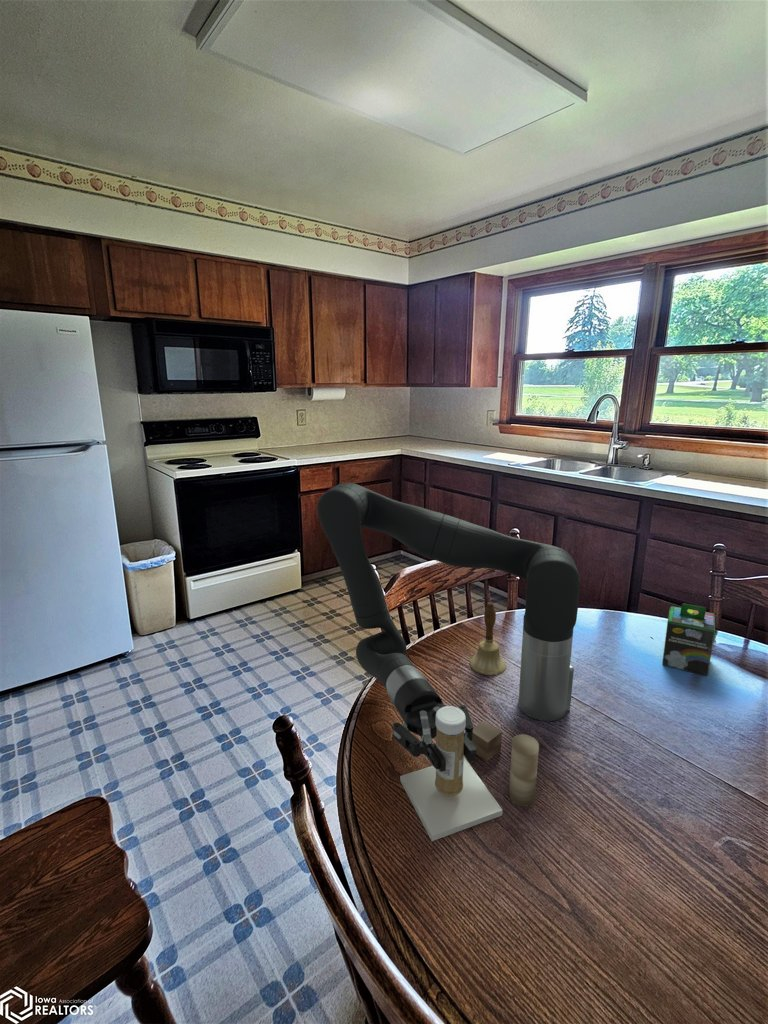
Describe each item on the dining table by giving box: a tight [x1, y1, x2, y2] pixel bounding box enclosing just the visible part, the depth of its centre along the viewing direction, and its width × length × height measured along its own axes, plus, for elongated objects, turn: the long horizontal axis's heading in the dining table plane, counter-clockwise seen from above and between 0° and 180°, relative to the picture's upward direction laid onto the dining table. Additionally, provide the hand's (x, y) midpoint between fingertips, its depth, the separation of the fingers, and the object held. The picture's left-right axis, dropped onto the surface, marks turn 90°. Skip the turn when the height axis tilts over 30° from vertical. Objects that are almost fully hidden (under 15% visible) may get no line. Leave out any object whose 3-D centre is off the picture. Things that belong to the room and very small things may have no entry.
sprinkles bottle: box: [435, 705, 466, 796], centre depth 77 cm, size 5×5×13 cm
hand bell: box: [469, 601, 507, 676], centre depth 113 cm, size 8×8×16 cm
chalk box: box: [662, 603, 716, 677], centre depth 113 cm, size 9×9×15 cm
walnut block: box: [471, 720, 503, 762], centre depth 89 cm, size 4×4×4 cm
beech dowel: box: [508, 733, 540, 807], centre depth 78 cm, size 4×4×10 cm
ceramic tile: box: [399, 756, 504, 842], centre depth 79 cm, size 12×12×1 cm
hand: (458, 761), depth 75 cm, fingers closed on sprinkles bottle, 4 cm apart
